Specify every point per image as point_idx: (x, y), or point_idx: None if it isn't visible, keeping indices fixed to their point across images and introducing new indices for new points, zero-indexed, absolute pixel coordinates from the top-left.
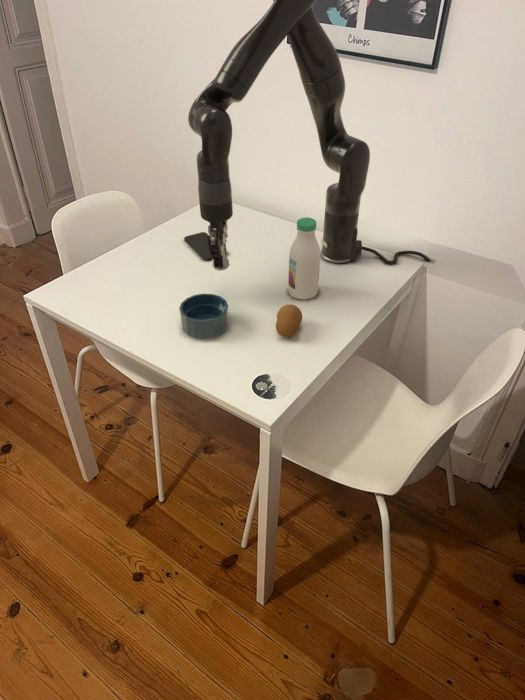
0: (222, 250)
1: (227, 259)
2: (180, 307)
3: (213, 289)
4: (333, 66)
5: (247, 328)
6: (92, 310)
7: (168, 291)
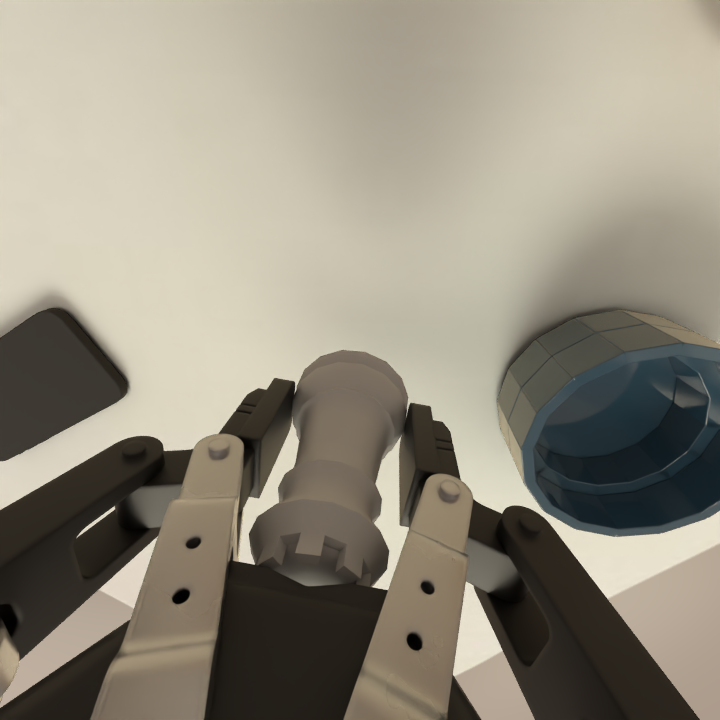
0: (426, 494)
1: (346, 379)
2: (612, 533)
3: None
4: None
5: (674, 222)
6: None
7: None
